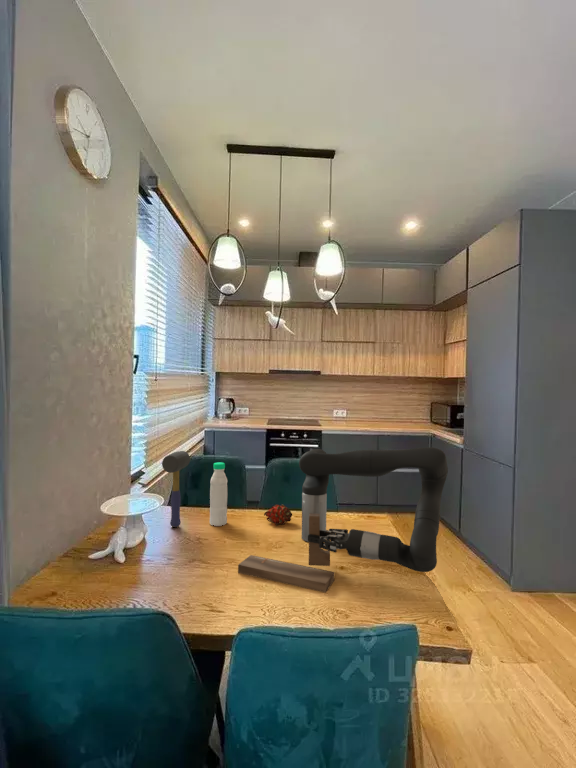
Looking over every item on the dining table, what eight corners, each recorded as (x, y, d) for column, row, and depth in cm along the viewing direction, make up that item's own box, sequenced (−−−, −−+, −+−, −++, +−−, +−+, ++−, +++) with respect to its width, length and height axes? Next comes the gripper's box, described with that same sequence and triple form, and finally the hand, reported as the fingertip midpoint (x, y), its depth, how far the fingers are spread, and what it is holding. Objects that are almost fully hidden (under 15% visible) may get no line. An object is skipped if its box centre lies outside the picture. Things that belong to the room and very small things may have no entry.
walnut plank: (250, 562, 133) (250, 554, 133) (334, 580, 122) (334, 571, 122) (238, 572, 126) (238, 564, 126) (325, 592, 115) (325, 583, 115)
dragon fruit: (293, 529, 169) (265, 531, 172) (295, 512, 176) (268, 514, 179) (289, 516, 165) (260, 518, 167) (291, 499, 172) (263, 501, 174)
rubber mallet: (173, 521, 172) (174, 449, 172) (190, 522, 171) (191, 450, 171) (159, 531, 160) (160, 454, 160) (177, 533, 158) (178, 455, 159)
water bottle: (225, 526, 167) (226, 464, 167) (207, 526, 167) (208, 464, 167) (228, 521, 174) (229, 461, 174) (211, 520, 174) (212, 461, 174)
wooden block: (308, 565, 127) (309, 515, 128) (308, 561, 130) (309, 513, 131) (330, 566, 127) (330, 516, 127) (329, 562, 130) (330, 513, 131)
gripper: (370, 524, 129) (318, 516, 136) (359, 539, 116) (302, 530, 123) (370, 548, 129) (318, 539, 136) (359, 566, 116) (302, 555, 123)
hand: (311, 535), depth 129 cm, fingers closed on wooden block, 4 cm apart
